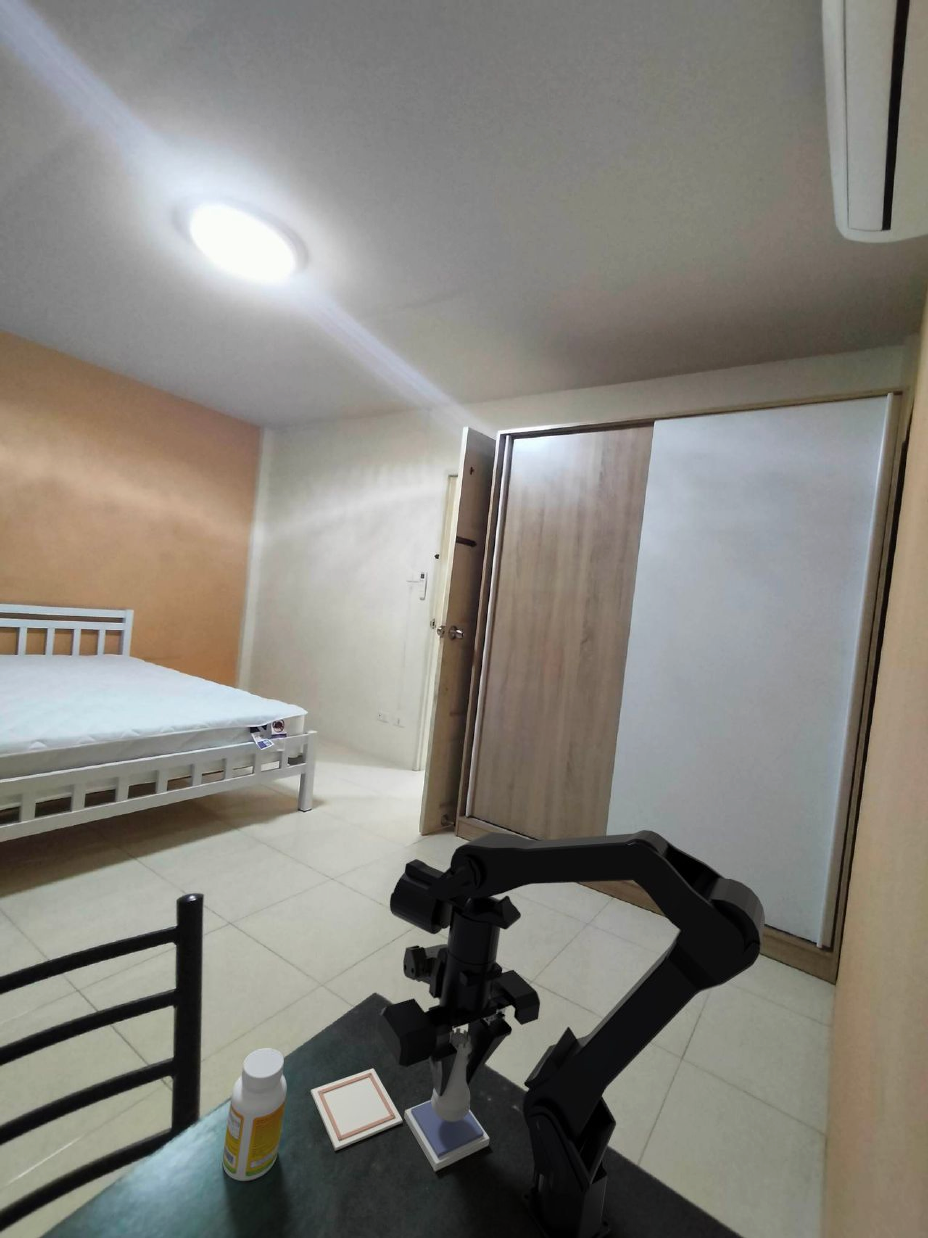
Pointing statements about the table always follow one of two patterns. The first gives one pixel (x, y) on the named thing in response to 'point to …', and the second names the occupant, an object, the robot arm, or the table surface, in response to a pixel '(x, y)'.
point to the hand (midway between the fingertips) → (452, 1087)
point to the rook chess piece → (455, 1082)
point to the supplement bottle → (255, 1116)
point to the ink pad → (445, 1135)
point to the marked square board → (355, 1108)
